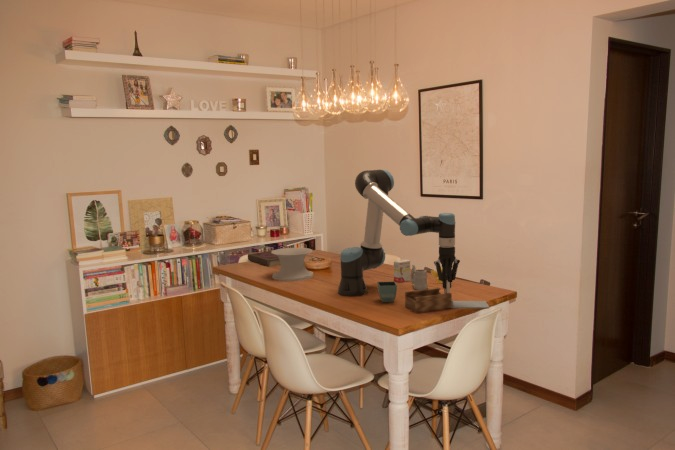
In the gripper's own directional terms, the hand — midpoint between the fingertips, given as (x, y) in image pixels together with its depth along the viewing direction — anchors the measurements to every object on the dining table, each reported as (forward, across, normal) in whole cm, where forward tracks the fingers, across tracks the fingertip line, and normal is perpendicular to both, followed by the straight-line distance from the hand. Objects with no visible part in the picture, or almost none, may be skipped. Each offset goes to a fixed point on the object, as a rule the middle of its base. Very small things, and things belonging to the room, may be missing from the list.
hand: (447, 295), depth 256 cm
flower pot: (+5, -23, +18) cm, 30 cm away
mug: (+5, +3, +36) cm, 36 cm away
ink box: (+5, +2, +54) cm, 54 cm away
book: (+6, -55, +145) cm, 155 cm away
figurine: (+5, +21, +40) cm, 46 cm away
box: (+5, -10, 0) cm, 11 cm away
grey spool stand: (+5, -53, +92) cm, 106 cm away
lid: (+6, +9, -4) cm, 11 cm away
